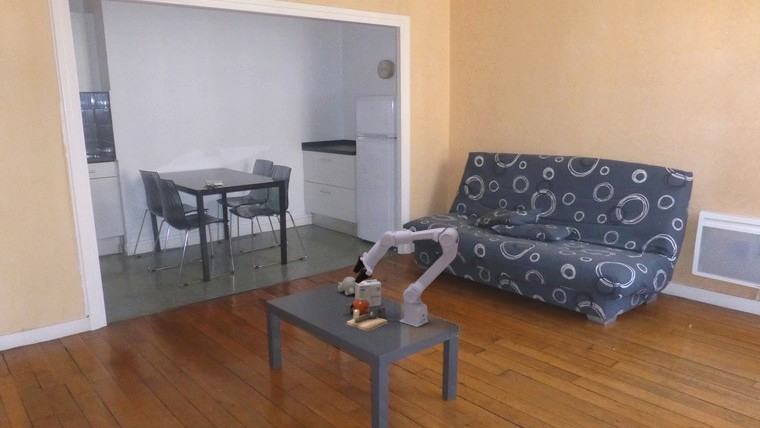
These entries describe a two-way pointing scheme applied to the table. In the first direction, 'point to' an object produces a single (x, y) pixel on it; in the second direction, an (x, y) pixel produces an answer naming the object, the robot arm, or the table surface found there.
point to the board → (367, 323)
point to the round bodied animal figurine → (347, 286)
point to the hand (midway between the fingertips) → (355, 277)
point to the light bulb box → (369, 291)
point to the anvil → (349, 309)
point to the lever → (368, 314)
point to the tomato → (361, 305)
